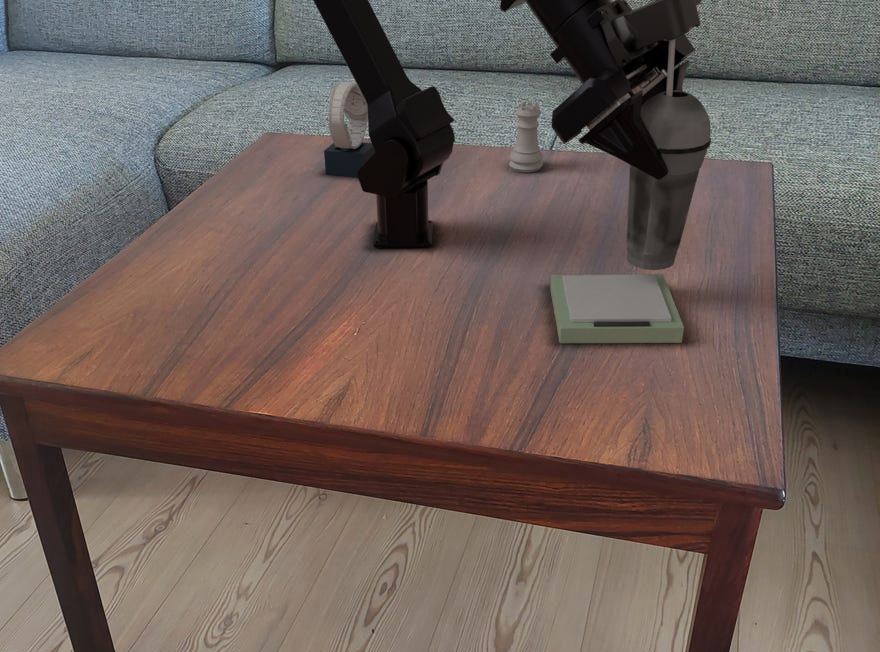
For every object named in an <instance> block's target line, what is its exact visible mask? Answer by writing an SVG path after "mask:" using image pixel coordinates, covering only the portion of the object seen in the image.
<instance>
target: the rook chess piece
mask: <svg viewBox="0 0 880 652" xmlns="http://www.w3.org/2000/svg"><path fill="white" fill-rule="evenodd" d="M541 114H542V110H541V109H540V104H539V103H538V102H533V101H527V104H526V102H525V101H523V102H520V103H519V104H518V108H517V109H516V111H515V115H516V116H517V118H518V122H517V123H516V126H517V136H516V142H515V145H514V147H513V150H512V151H511V153H510V154H509V159H510V161H509V163H508V165H509V167H510V169H511V170H512V171H514V172H517V173H524V174H525V173H526V174H528V173H534V172H538V171H540V170H541V169H542V168H543V166H544V163H543V161H542V160H543V158H544V155H543V153H542V152H541V148H540V146H539V141H538V127H539V125H540V124H539V122H538V119H539V117H540V115H541Z"/></svg>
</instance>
